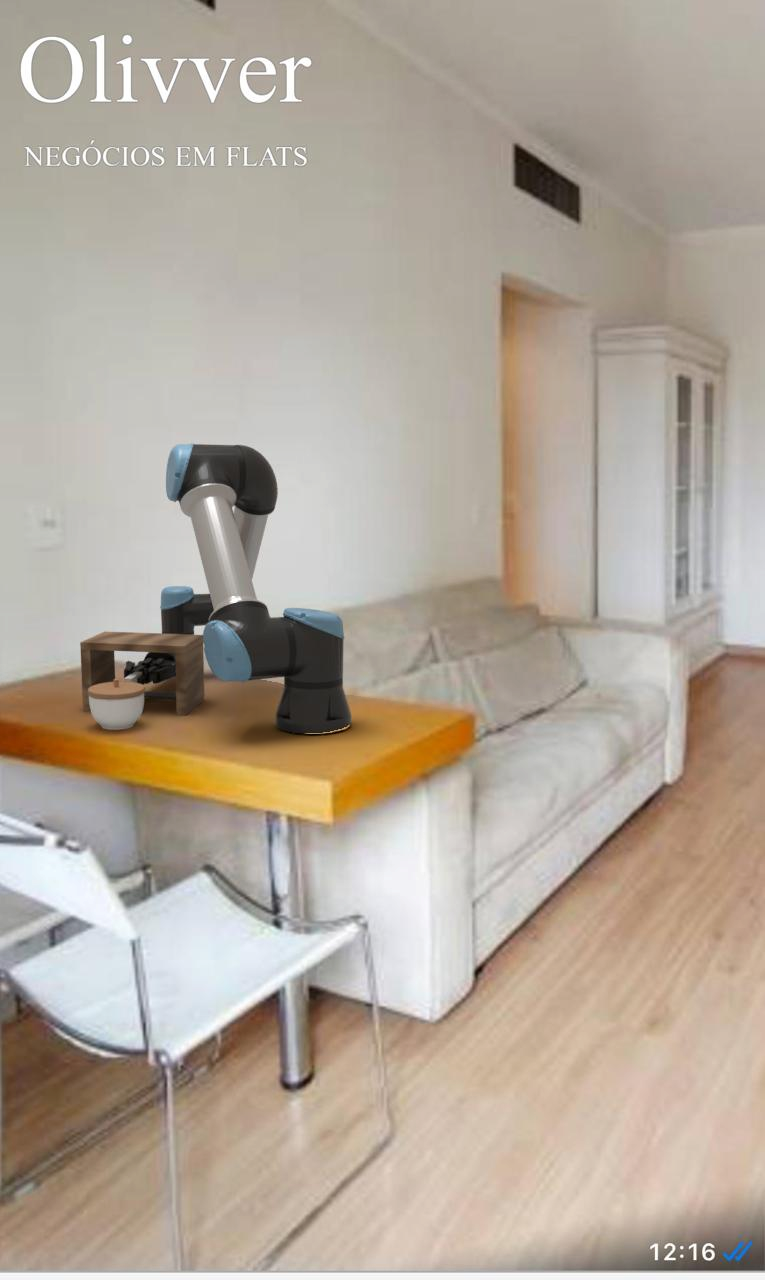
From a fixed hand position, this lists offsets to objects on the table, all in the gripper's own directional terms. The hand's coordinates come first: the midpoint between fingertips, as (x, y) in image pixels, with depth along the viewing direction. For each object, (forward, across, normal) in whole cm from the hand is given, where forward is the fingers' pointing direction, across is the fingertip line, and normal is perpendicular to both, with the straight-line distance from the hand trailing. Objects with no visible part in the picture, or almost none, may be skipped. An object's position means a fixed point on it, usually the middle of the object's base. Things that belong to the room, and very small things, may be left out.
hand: (127, 684), depth 195 cm
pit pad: (-18, 0, -7) cm, 19 cm away
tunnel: (-9, 0, -7) cm, 11 cm away
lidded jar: (+7, 0, -7) cm, 10 cm away
